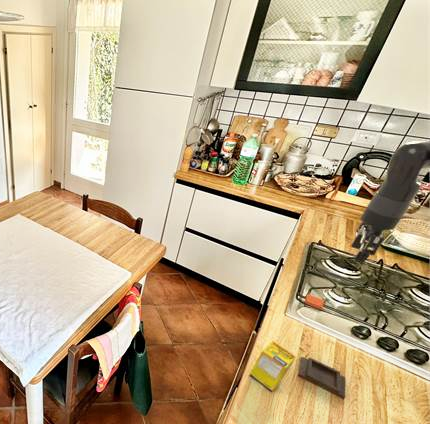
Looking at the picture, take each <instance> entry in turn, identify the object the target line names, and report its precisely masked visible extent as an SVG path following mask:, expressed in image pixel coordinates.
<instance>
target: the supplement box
mask: <svg viewBox="0 0 430 424" xmlns="http://www.w3.org/2000/svg"><path fill="white" fill-rule="evenodd" d="M296 359H297V355H295V354H294V353H293V352H291V351H289V350H288V349H286V348H285V347H283V346H282V345H281V344H279V343H278V342H276V341H274V340H272V341H271V342H270V343H269V344H268V345H266V347H265V348H263V350H262V351H261V353H260V354H259V356H258V357H257V360H256V361H255V363H254V365H253V367H252V369H251V370H250V373H249V377H251V378H252V379H253V380H254V381H256V382H257V383H259V384H260V385H261V386H263V387H264V388H265V389H266V390H268V391H269V392H270V393H272V392H273V391H274V390H275V389H276V388H277V387H278V386H279V384H280V383H281V382H282V380H283V379H284V378H285V376H286V374H287V373H288V371H289V370H290V368H291V366H292V365H293V363H294V362H295V360H296Z"/></svg>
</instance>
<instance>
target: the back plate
mask: <svg viewBox="0 0 430 424" xmlns="http://www.w3.org/2000/svg"><path fill="white" fill-rule="evenodd" d="M297 377H299V378H301V379H303V380H305V381H307V382H308V383H311V384H312V385H314V386H316V387H318V388H320V389H323V390H325V391H326V392H328V393H330V394H333V395H334V396H336V397H338V398H340V399H342V400H344V399H345V398H346V377H345V376H343V375H342V374H341V371H339V370H337V369H335V368H333V367H330V366H329V365H327V364H325V363H322V362H321V361H318V360H316V359H314V358H312V357H308V358H306V357H304V356H300V358H299V364H298V371H297Z"/></svg>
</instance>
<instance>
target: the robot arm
mask: <svg viewBox="0 0 430 424" xmlns="http://www.w3.org/2000/svg"><path fill="white" fill-rule="evenodd" d="M423 169H430V140H426V141H412V142H407V143H405V144H402V145H401V146H399V147H398V148H397V149H396V150H395V151H394V152H393V154H392V155H391V157H390V159H389V163H388V167H387V169H386V175H385V179H384V181H383V182H382V184H381V186H380V187H379V189H378V190H377V192H376V193H375V194H374V195H373V197H372V198H371V200H370V201H369V203H368V204H367V206H366V208H365V210H364V211H363V213H362V214H361V216H360V220H361V222H360V224H359V225H358V227H357V229H356V230H355V232H356V234H355V238H354V239H353V241H352V243H351V244H350V246H351V248H352V249H357V250H359V251H358V252H357V253H356V255H355V257H354V261H355V262H357V263H359V264H364V263H365V262H366V261H367V259H368V258H369V256H375V255H376V253H377V251H378V250H379V248H380V246H381V245H382V243H383V242H384V240H385V237H383V232H384V231H391V230H394V229H395V228H396V227H397V226H398V224H399V223H400V221H401V220H402V218H403V217H404V215H405V214H406V213H407V211H408V209H409V208H410V206H411V204H412V202H413V200H414V199H415V197H416V196H417V194H418V192H420V190H421V188H422V186H423V181H422V180H421V179H420V178H419V175H420V172H421V171H422V170H423Z"/></svg>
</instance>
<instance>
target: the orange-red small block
mask: <svg viewBox="0 0 430 424" xmlns="http://www.w3.org/2000/svg"><path fill="white" fill-rule="evenodd" d="M304 304H305V305H308V306H310V307H312V308H315V309H316V310H319V311H322V310H323V308H324V299H323V298H320V297H317V296H314V295H312V294H310V293H307V294H306V295H305V299H304Z"/></svg>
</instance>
